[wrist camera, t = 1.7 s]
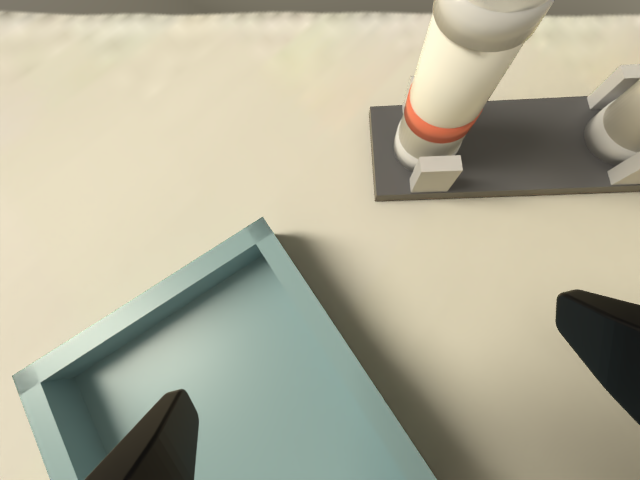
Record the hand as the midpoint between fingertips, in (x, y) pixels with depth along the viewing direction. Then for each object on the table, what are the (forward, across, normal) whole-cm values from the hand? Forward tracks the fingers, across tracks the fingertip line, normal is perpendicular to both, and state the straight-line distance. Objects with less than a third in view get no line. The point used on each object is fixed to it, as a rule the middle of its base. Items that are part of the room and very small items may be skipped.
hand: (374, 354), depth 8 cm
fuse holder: (+17, -14, +1) cm, 23 cm away
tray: (+9, +8, +11) cm, 16 cm away
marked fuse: (+17, -8, -1) cm, 19 cm away
